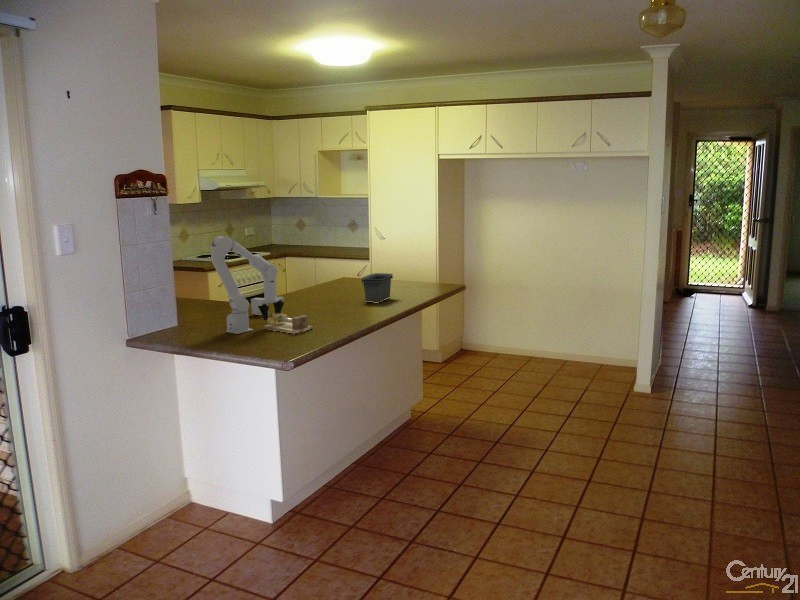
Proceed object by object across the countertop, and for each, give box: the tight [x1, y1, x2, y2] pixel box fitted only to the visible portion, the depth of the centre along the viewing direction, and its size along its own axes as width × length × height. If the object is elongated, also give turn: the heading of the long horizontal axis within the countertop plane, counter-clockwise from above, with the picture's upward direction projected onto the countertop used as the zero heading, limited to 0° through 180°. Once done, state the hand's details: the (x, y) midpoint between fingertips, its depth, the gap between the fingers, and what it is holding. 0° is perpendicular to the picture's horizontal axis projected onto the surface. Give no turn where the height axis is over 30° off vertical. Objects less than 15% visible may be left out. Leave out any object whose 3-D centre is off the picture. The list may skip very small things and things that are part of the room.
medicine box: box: [250, 297, 270, 315], centre depth 341 cm, size 8×4×9 cm, turn 59°
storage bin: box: [360, 272, 394, 302], centre depth 377 cm, size 21×16×14 cm
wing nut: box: [267, 311, 288, 325], centre depth 312 cm, size 11×3×5 cm, turn 144°
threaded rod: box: [278, 317, 292, 323], centre depth 308 cm, size 2×16×2 cm, turn 54°
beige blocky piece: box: [262, 315, 314, 335], centre depth 308 cm, size 12×20×7 cm, turn 54°
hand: (271, 318), depth 314 cm, fingers open, 7 cm apart
